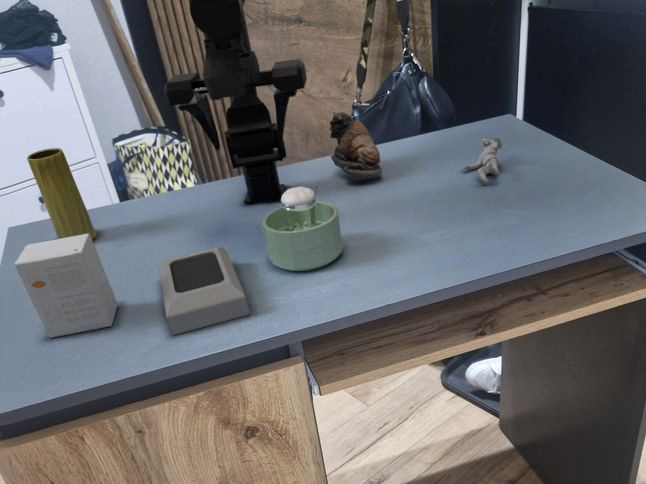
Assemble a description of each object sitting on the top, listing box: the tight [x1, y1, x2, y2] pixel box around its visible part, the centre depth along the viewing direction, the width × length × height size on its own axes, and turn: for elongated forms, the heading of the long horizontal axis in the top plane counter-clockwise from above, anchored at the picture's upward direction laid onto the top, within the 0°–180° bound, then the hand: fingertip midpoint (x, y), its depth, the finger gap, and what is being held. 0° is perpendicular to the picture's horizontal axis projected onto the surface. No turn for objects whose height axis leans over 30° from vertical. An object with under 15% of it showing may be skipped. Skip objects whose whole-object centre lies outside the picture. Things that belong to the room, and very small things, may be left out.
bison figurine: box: [329, 111, 383, 182], centre depth 111 cm, size 12×7×10 cm, turn 28°
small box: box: [13, 233, 119, 339], centre depth 79 cm, size 8×6×10 cm
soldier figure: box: [462, 136, 503, 186], centre depth 106 cm, size 8×5×12 cm
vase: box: [26, 147, 98, 241], centre depth 101 cm, size 6×6×14 cm
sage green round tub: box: [261, 200, 343, 272], centre depth 88 cm, size 10×10×6 cm
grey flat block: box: [157, 247, 251, 336], centre depth 82 cm, size 10×4×15 cm
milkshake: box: [280, 181, 319, 231], centre depth 86 cm, size 4×5×10 cm
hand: (249, 145), depth 92 cm, fingers open, 9 cm apart
